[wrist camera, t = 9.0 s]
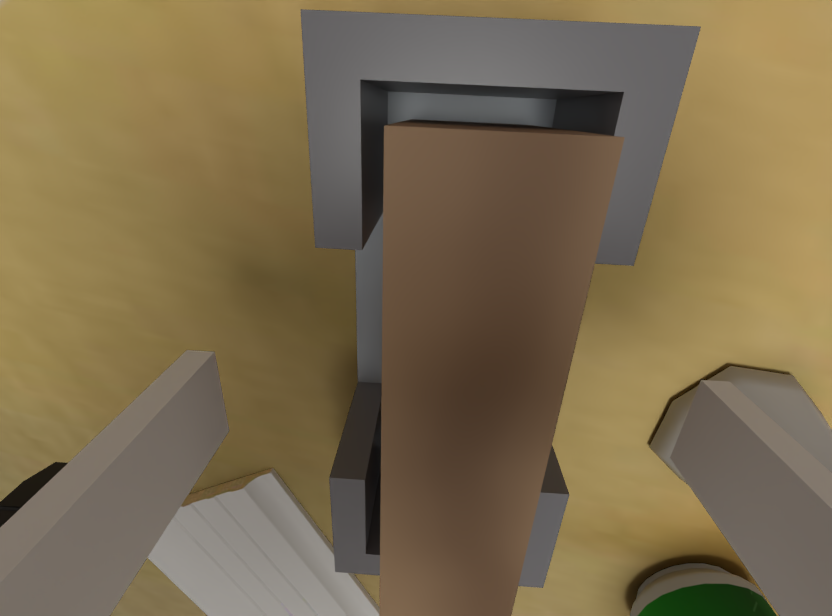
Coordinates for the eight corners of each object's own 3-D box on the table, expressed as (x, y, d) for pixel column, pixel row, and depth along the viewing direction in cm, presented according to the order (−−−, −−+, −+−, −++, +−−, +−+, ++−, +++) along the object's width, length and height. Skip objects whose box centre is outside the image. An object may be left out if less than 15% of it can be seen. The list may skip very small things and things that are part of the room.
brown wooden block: (400, 435, 20) (379, 616, 13) (411, 119, 14) (383, 125, 7) (483, 441, 20) (508, 626, 13) (528, 124, 14) (625, 137, 7)
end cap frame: (362, 449, 22) (335, 572, 16) (357, 52, 14) (300, 9, 8) (514, 459, 22) (542, 587, 16) (591, 62, 14) (701, 26, 8)
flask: (730, 498, 22) (930, 761, 13) (620, 448, 21) (756, 697, 12) (847, 402, 19) (1203, 655, 10) (726, 338, 18) (1006, 558, 9)
